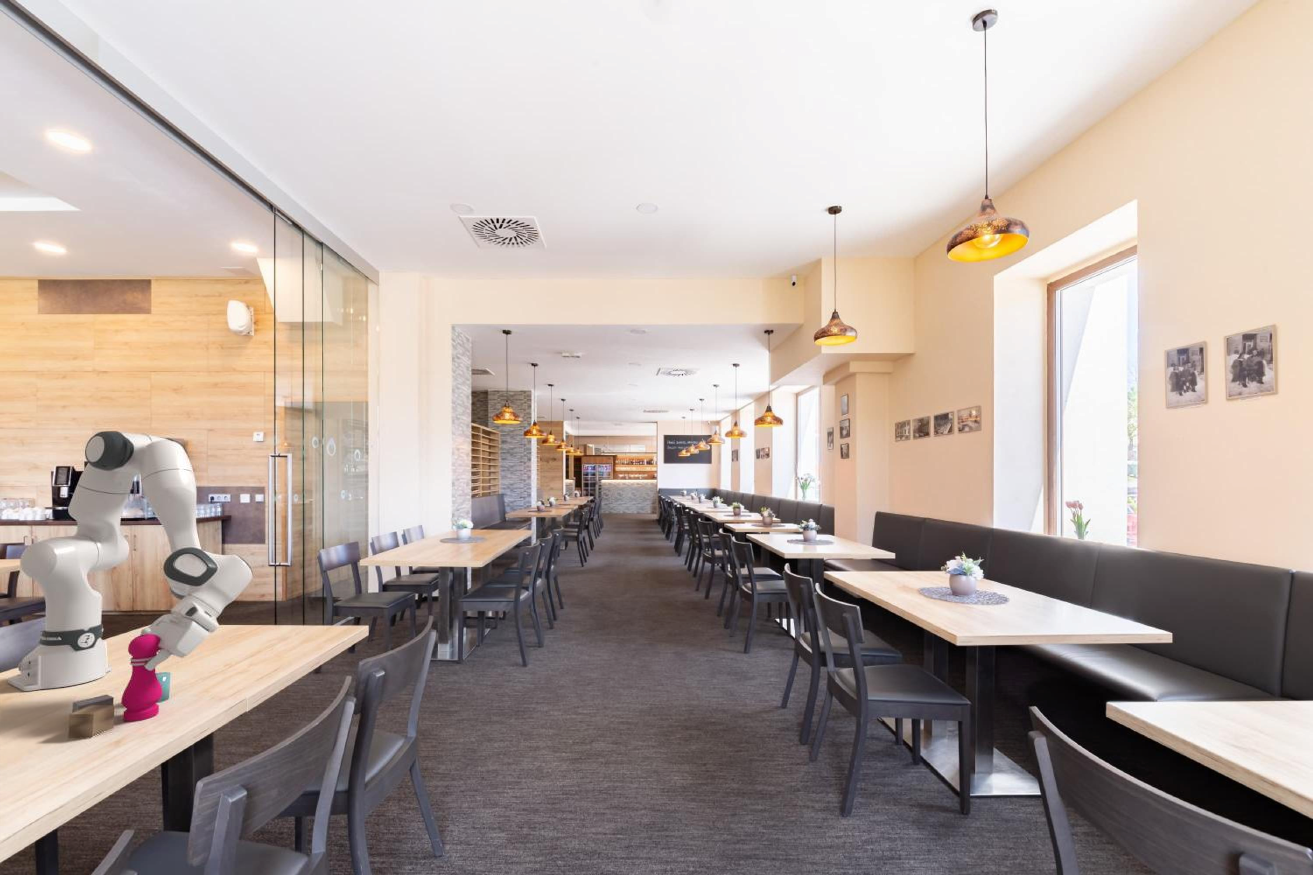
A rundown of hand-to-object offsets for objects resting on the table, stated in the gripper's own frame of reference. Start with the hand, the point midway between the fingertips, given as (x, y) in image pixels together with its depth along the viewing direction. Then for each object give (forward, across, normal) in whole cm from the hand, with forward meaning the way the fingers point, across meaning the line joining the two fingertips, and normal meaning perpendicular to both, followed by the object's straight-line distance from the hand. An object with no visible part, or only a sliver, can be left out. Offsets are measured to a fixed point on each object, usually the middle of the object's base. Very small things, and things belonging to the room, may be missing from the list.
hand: (140, 666), depth 139 cm
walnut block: (+14, +2, +2) cm, 15 cm away
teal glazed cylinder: (+3, -10, +13) cm, 16 cm away
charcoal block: (+12, -9, +4) cm, 16 cm away
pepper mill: (+8, 0, +9) cm, 12 cm away
